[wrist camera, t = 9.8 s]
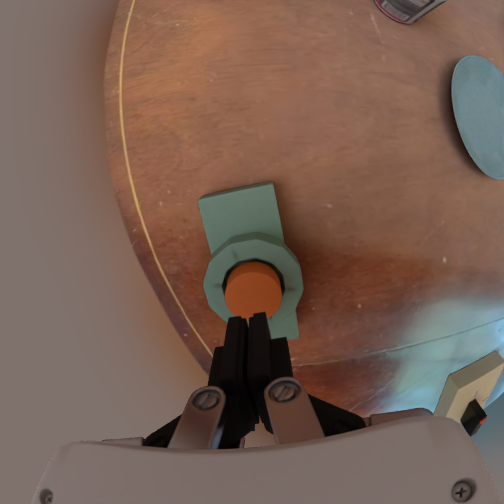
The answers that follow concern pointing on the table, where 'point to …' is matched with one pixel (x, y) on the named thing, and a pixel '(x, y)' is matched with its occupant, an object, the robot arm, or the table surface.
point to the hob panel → (469, 386)
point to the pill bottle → (407, 9)
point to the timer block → (250, 249)
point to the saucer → (480, 112)
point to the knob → (473, 417)
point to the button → (253, 290)
